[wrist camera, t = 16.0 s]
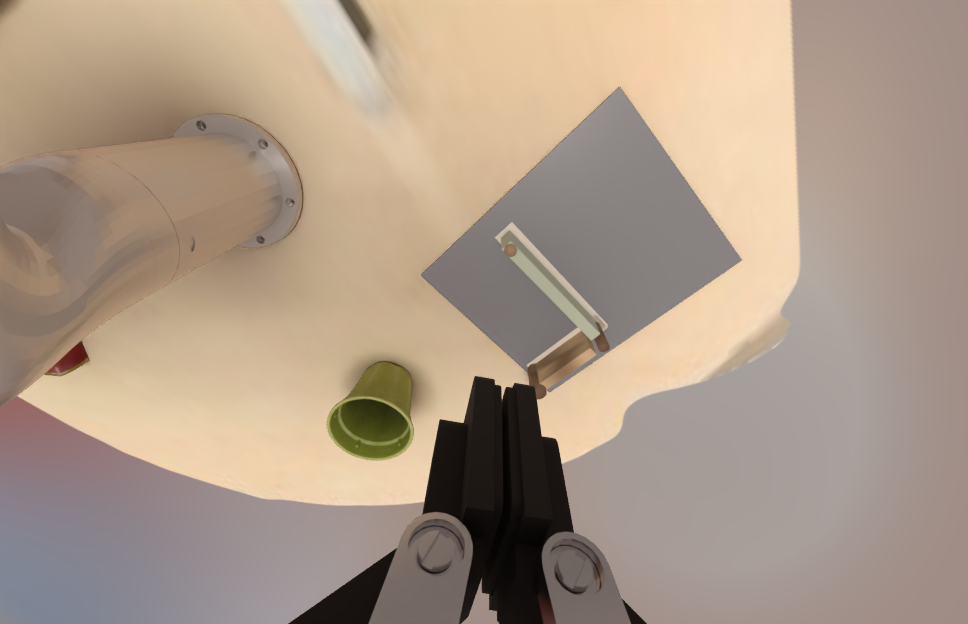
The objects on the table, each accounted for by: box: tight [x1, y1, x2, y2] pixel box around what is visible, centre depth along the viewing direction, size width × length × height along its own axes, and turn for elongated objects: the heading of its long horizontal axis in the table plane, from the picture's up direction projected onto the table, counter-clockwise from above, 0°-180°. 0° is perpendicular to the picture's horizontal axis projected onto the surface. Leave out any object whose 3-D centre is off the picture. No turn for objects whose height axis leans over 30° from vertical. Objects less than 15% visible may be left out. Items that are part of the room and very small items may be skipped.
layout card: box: [421, 87, 742, 392], centre depth 43 cm, size 26×22×1 cm
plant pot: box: [327, 362, 414, 460], centre depth 47 cm, size 9×9×9 cm
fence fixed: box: [528, 322, 610, 399], centre depth 46 cm, size 10×2×5 cm, turn 134°
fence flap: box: [501, 230, 600, 341], centre depth 41 cm, size 14×1×4 cm, turn 44°
